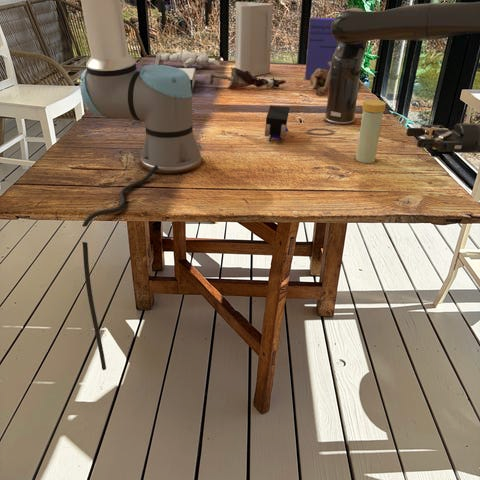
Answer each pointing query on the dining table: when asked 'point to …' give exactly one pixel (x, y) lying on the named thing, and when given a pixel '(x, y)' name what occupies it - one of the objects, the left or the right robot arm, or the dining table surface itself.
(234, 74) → the figurine
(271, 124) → the figurine character
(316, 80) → the anatomical model
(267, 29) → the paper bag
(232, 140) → the dining table surface
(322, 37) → the cereal box
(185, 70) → the disc drive
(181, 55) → the toy
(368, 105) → the lid
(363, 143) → the jar
